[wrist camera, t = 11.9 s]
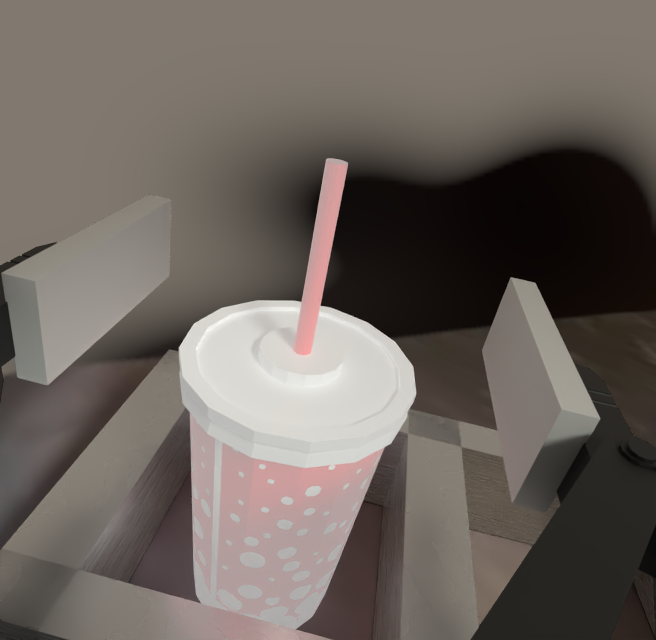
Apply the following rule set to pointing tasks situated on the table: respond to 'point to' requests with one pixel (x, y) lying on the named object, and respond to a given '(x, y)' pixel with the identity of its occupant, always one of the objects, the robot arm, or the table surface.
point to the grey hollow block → (228, 627)
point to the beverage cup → (285, 436)
